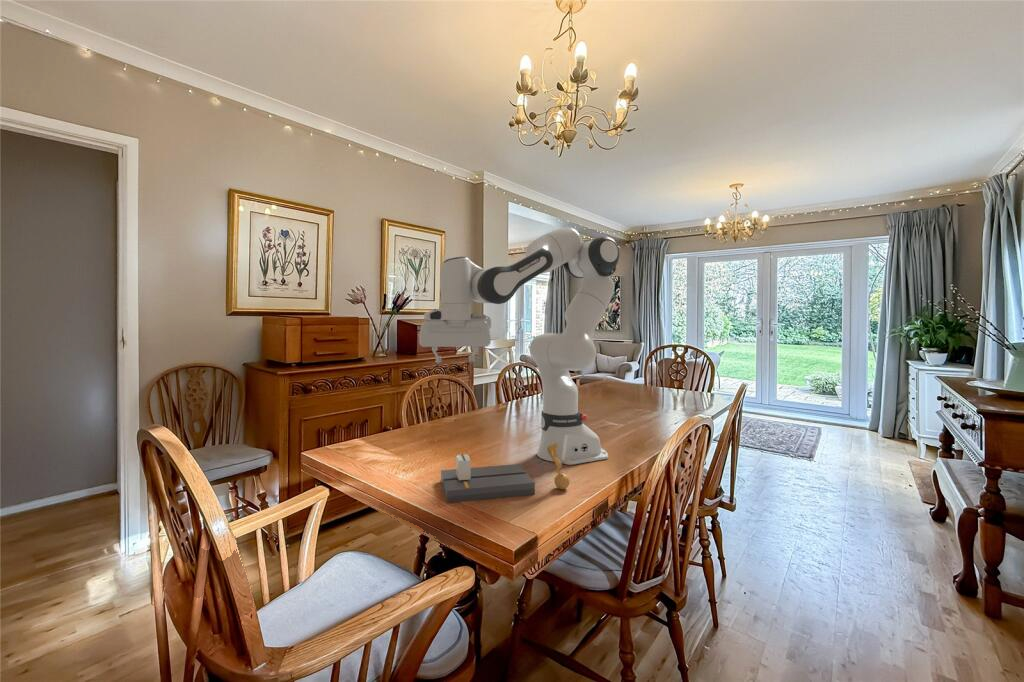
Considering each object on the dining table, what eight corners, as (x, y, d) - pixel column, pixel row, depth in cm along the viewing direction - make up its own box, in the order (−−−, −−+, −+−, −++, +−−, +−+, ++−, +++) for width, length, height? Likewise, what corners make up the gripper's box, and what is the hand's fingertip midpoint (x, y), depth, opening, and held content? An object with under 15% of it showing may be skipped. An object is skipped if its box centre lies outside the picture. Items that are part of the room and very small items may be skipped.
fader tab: (467, 479, 116) (467, 454, 116) (470, 485, 112) (470, 459, 112) (456, 480, 116) (456, 454, 115) (458, 486, 111) (458, 460, 111)
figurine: (570, 495, 111) (571, 448, 110) (546, 494, 111) (547, 447, 111) (568, 482, 119) (569, 439, 118) (546, 482, 120) (546, 438, 119)
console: (519, 474, 125) (519, 463, 125) (534, 494, 112) (534, 481, 111) (440, 481, 119) (440, 469, 119) (447, 503, 106) (447, 489, 106)
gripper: (488, 314, 132) (488, 360, 133) (418, 313, 127) (419, 361, 128) (493, 314, 126) (493, 362, 127) (420, 313, 121) (420, 364, 122)
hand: (455, 362), depth 127 cm, fingers open, 8 cm apart
